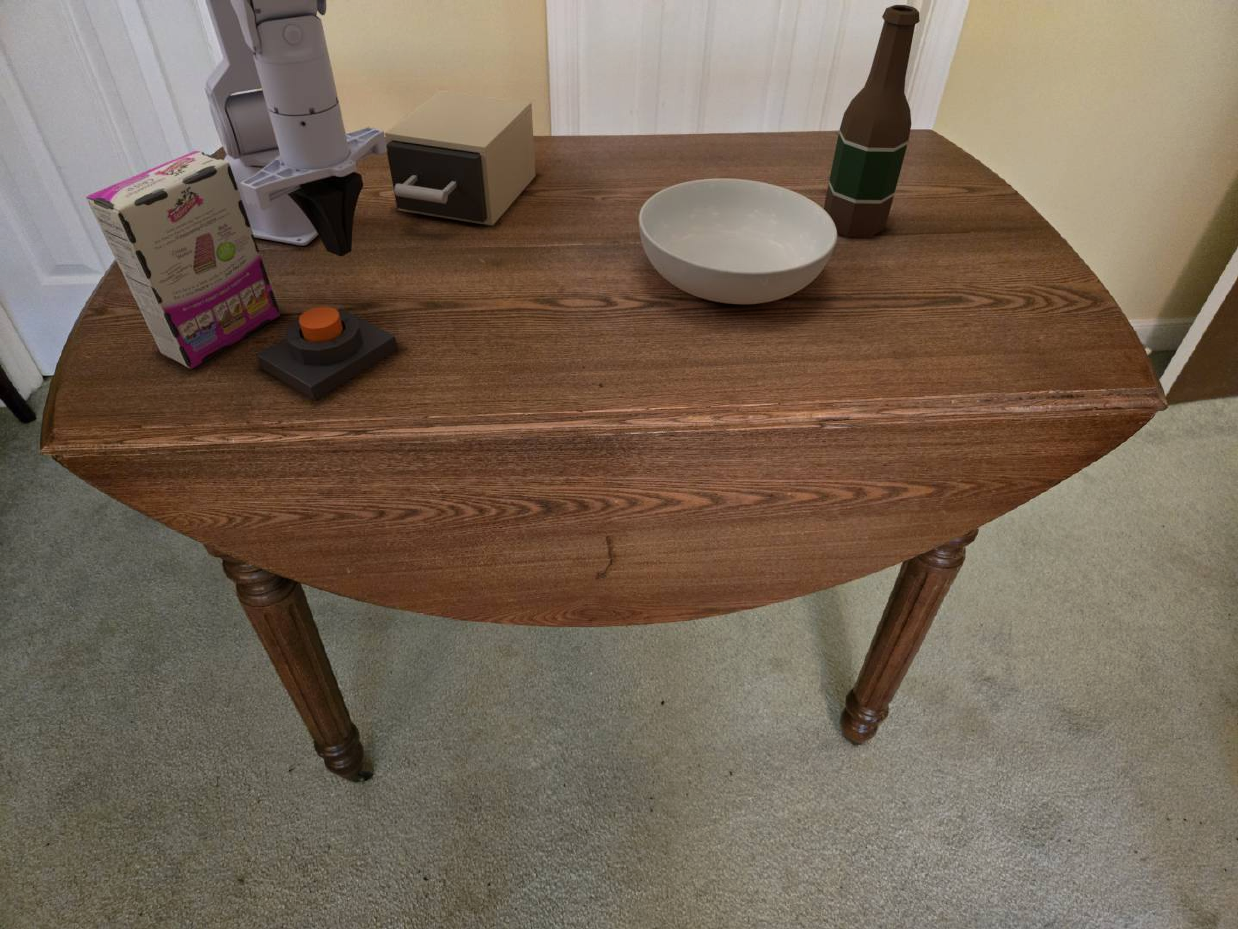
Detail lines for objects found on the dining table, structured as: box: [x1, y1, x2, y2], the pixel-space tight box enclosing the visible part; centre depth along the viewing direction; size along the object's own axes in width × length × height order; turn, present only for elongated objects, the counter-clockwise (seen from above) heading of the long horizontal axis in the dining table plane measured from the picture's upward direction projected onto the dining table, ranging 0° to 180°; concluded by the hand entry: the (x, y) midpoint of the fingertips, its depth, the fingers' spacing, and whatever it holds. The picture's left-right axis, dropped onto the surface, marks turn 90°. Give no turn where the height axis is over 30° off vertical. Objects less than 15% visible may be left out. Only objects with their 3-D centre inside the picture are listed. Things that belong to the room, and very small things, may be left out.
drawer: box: [386, 141, 487, 222], centre depth 99 cm, size 18×11×8 cm, turn 163°
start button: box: [298, 306, 343, 342], centre depth 76 cm, size 4×4×2 cm
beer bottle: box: [823, 4, 920, 239], centre depth 92 cm, size 8×8×24 cm
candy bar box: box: [85, 150, 281, 370], centre depth 76 cm, size 11×5×16 cm, turn 148°
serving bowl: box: [638, 178, 838, 305], centre depth 89 cm, size 21×21×7 cm
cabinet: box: [384, 89, 536, 227], centre depth 102 cm, size 15×13×10 cm
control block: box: [256, 308, 399, 402], centre depth 78 cm, size 10×8×4 cm
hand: (339, 250), depth 77 cm, fingers closed
